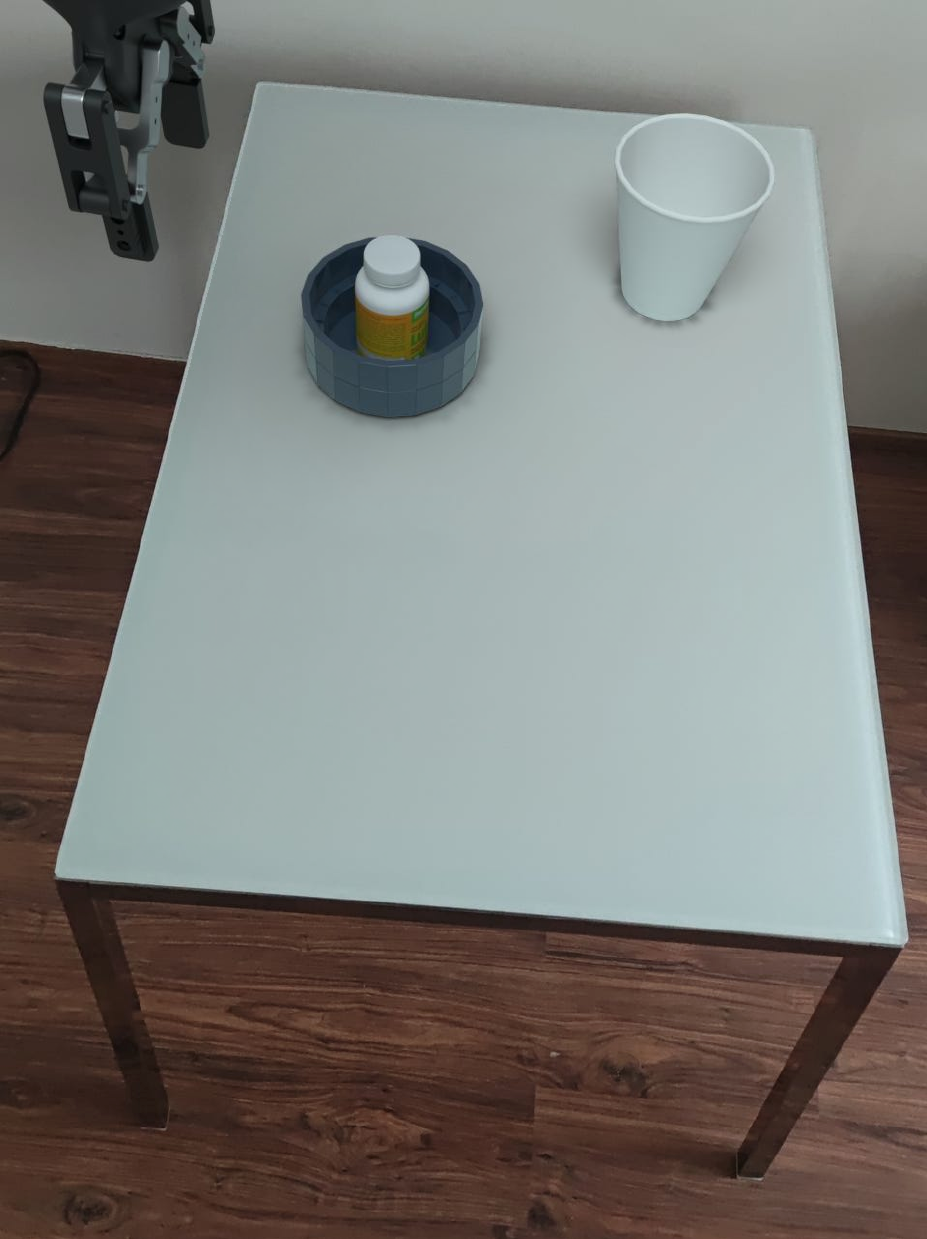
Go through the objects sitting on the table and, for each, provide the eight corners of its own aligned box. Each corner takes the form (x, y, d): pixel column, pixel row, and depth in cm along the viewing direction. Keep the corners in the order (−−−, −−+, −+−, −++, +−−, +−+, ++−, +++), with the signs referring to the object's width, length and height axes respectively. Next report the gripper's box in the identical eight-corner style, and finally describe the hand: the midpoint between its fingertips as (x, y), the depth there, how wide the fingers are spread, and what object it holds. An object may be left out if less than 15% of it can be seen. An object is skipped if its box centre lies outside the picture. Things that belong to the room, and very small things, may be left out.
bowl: (287, 405, 91) (281, 348, 86) (329, 282, 98) (325, 223, 93) (460, 435, 90) (465, 380, 85) (490, 310, 97) (496, 252, 92)
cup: (673, 367, 95) (709, 244, 84) (560, 288, 99) (581, 160, 88) (764, 293, 100) (808, 167, 89) (652, 220, 104) (682, 91, 93)
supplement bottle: (420, 382, 92) (423, 286, 84) (350, 371, 92) (346, 274, 84) (432, 331, 95) (436, 233, 87) (364, 321, 95) (362, 221, 87)
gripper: (67, -242, 51) (135, 98, 65) (-70, -56, 44) (40, 283, 58) (240, -216, 51) (272, 120, 65) (131, -24, 44) (193, 309, 57)
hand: (163, 197), depth 61 cm, fingers open, 8 cm apart
